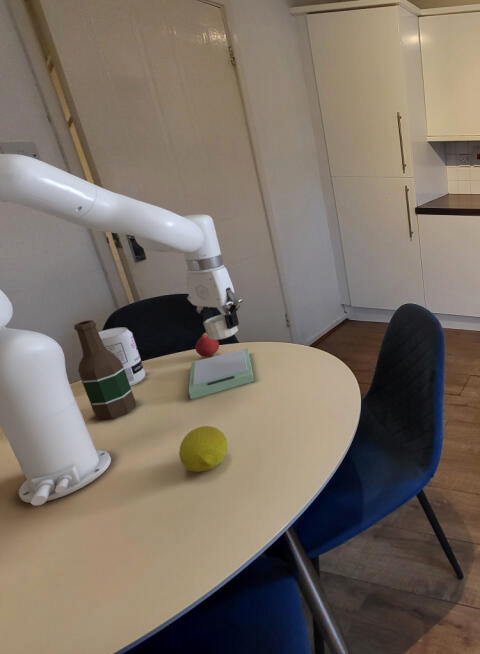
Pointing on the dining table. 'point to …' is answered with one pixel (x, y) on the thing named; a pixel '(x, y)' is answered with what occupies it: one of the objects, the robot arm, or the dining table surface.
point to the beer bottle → (103, 375)
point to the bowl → (218, 328)
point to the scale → (220, 373)
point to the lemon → (203, 449)
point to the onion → (206, 346)
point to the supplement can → (124, 352)
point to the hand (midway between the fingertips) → (221, 325)
